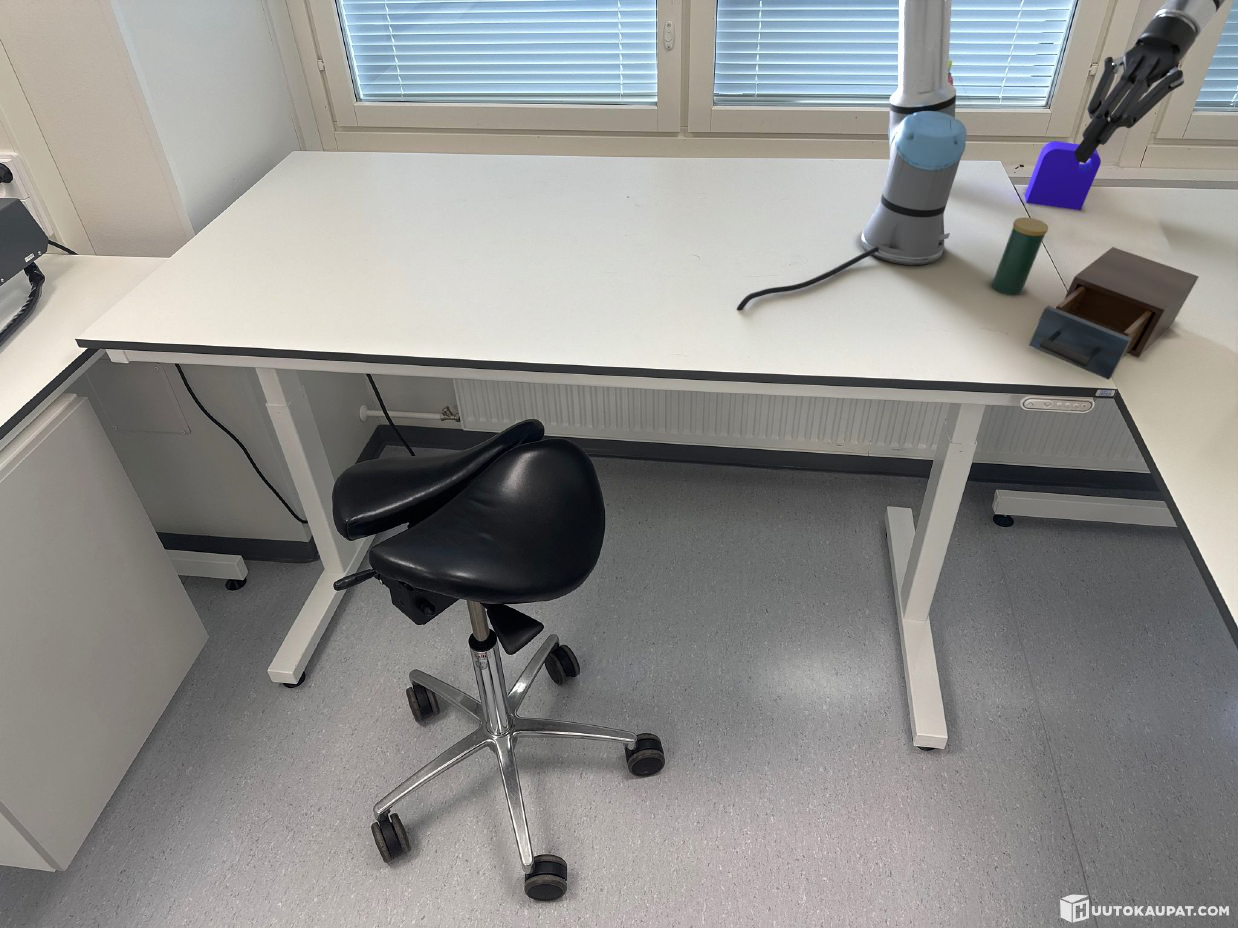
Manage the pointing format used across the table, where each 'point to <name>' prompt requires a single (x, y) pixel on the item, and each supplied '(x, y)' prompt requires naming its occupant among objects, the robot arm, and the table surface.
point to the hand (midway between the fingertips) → (1079, 158)
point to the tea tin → (1019, 255)
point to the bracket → (1061, 177)
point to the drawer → (1091, 330)
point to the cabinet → (1139, 288)
